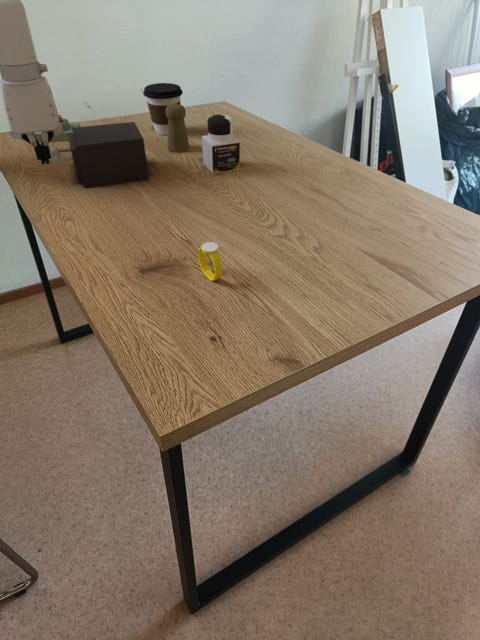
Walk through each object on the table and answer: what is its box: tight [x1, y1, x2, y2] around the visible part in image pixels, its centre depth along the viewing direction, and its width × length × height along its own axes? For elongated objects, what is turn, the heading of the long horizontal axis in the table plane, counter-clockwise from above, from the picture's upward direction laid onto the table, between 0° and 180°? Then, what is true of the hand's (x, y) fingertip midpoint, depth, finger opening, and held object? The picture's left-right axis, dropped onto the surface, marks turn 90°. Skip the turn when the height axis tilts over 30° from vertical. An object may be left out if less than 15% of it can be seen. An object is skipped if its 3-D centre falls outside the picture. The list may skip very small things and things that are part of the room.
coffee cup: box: [142, 82, 184, 136], centre depth 129 cm, size 11×11×12 cm
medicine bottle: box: [201, 114, 241, 175], centre depth 109 cm, size 7×7×12 cm
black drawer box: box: [72, 121, 150, 189], centre depth 106 cm, size 15×13×10 cm
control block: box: [34, 117, 81, 143], centre depth 128 cm, size 11×9×4 cm
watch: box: [197, 241, 223, 282], centre depth 75 cm, size 6×3×6 cm, turn 32°
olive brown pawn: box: [165, 103, 190, 153], centre depth 119 cm, size 6×6×11 cm
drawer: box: [51, 133, 84, 185], centre depth 105 cm, size 18×11×8 cm, turn 109°
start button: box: [58, 114, 63, 123], centre depth 127 cm, size 4×4×2 cm
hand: (45, 162), depth 103 cm, fingers closed
